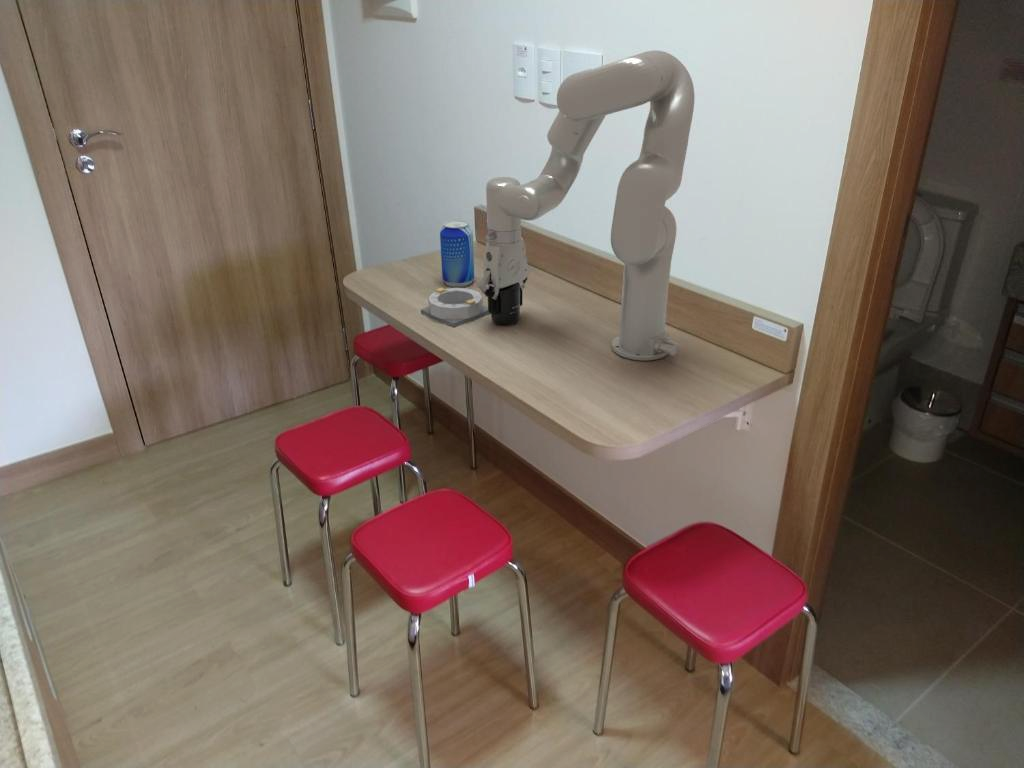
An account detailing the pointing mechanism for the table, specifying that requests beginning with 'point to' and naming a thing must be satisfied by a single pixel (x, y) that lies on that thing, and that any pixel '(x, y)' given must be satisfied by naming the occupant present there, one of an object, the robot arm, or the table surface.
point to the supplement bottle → (508, 306)
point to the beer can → (457, 253)
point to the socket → (455, 306)
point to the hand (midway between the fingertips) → (505, 308)
